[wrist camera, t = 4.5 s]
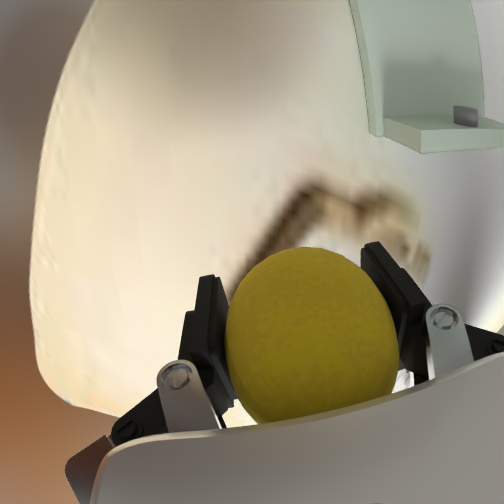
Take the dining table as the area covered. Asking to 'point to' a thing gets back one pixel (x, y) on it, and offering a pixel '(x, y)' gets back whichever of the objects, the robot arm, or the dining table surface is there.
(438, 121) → the holder
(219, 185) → the dining table surface
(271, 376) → the lemon
